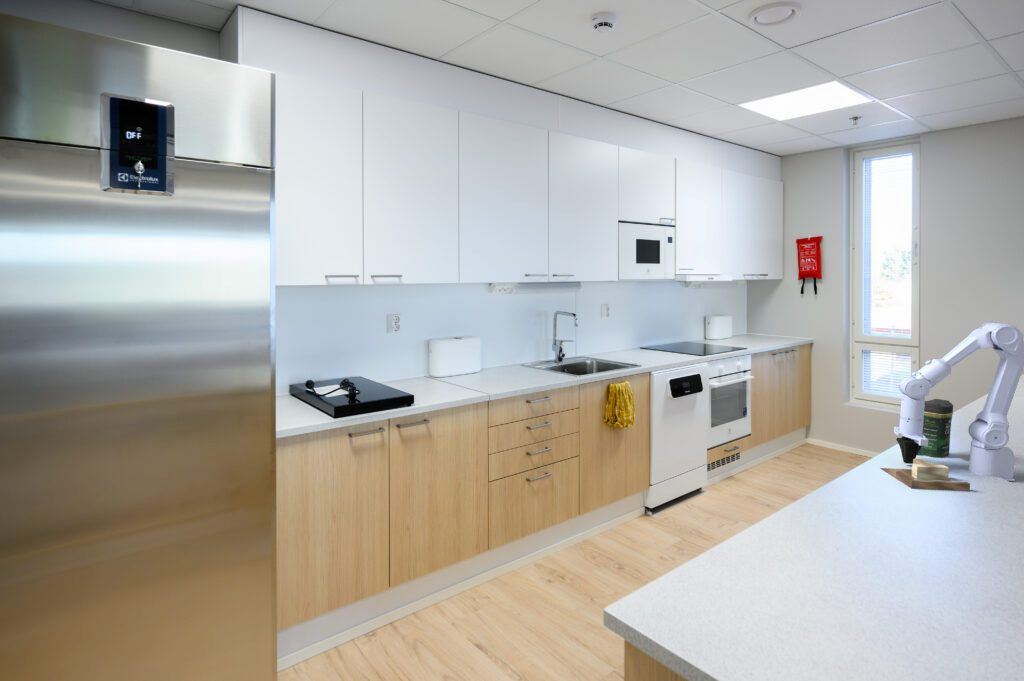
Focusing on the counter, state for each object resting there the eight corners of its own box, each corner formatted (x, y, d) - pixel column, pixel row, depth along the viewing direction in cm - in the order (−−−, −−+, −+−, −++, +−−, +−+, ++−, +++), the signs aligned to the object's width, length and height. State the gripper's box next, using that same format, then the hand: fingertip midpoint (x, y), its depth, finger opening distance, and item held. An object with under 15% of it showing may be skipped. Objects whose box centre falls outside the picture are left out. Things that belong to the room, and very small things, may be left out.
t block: (932, 471, 165) (933, 459, 165) (948, 480, 158) (949, 467, 158) (902, 470, 166) (902, 458, 166) (916, 478, 159) (917, 466, 159)
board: (931, 474, 167) (932, 463, 166) (969, 495, 150) (970, 483, 150) (879, 471, 169) (879, 461, 168) (911, 492, 152) (911, 481, 151)
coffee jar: (940, 462, 177) (945, 403, 175) (911, 456, 184) (915, 399, 182) (953, 457, 182) (957, 400, 181) (924, 451, 189) (928, 395, 187)
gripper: (884, 412, 177) (881, 455, 178) (910, 423, 162) (906, 470, 164) (909, 412, 176) (906, 456, 177) (937, 424, 162) (933, 471, 163)
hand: (908, 463), depth 170 cm, fingers closed
